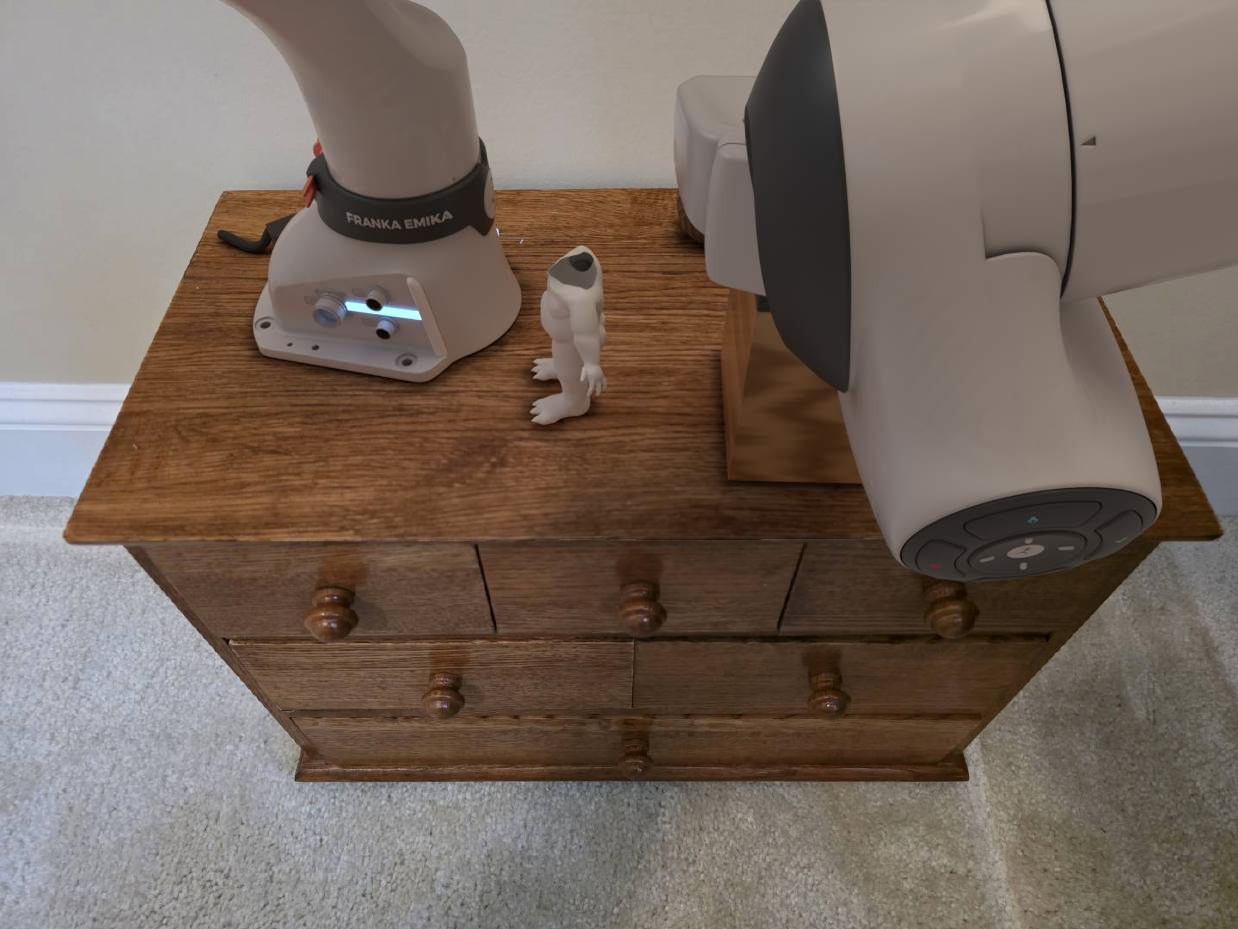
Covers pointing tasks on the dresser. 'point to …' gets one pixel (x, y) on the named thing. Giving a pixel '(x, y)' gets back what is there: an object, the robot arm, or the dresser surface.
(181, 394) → the dresser surface
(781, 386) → the stand
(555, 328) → the toy creature
